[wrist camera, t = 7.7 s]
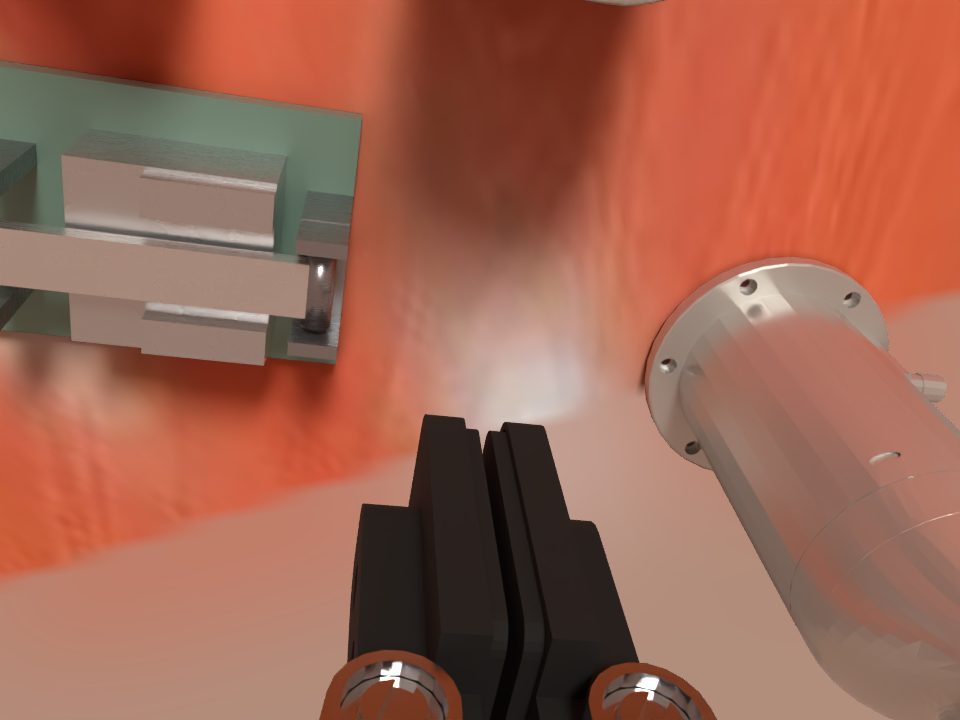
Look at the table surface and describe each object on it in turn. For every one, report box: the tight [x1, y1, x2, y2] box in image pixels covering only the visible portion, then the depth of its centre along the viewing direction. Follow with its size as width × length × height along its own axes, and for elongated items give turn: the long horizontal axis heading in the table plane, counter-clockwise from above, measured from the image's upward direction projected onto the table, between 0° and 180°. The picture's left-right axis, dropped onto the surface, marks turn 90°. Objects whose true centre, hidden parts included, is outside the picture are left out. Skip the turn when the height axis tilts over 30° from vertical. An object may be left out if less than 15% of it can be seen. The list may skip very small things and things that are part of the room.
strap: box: [0, 220, 337, 331], centre depth 35 cm, size 14×3×1 cm, turn 81°
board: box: [0, 60, 362, 364], centre depth 39 cm, size 16×12×1 cm
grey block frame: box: [0, 129, 354, 366], centre depth 37 cm, size 15×8×6 cm, turn 81°
